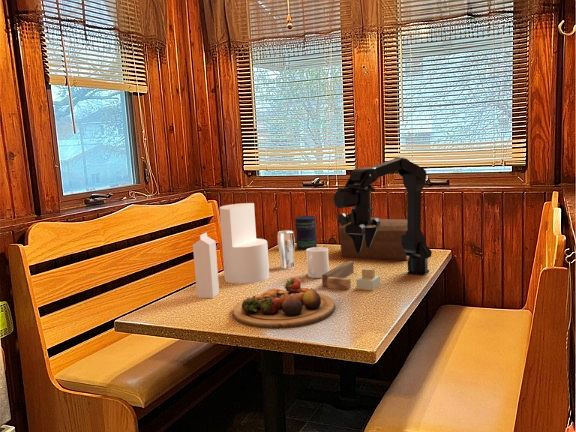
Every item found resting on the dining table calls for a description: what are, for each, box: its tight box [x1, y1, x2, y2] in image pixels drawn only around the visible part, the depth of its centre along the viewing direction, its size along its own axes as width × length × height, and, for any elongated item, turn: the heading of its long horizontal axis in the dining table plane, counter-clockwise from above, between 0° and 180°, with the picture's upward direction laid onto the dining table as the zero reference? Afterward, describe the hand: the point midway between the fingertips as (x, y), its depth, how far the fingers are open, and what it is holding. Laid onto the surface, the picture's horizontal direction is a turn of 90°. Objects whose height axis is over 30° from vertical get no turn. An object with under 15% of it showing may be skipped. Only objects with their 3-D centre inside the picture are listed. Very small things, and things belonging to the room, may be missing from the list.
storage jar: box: [294, 215, 318, 251], centre depth 266 cm, size 10×10×15 cm
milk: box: [192, 231, 220, 299], centre depth 196 cm, size 6×6×22 cm
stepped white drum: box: [219, 202, 270, 285], centre depth 217 cm, size 17×17×28 cm
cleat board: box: [321, 260, 354, 291], centre depth 206 cm, size 10×22×4 cm, turn 149°
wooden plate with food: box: [232, 277, 336, 330], centre depth 175 cm, size 32×32×8 cm
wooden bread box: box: [338, 218, 409, 261], centre depth 244 cm, size 18×30×16 cm, turn 63°
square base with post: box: [356, 267, 381, 291], centre depth 197 cm, size 6×7×6 cm
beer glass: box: [277, 229, 296, 270], centre depth 230 cm, size 7×7×15 cm
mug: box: [305, 246, 330, 279], centre depth 214 cm, size 12×8×10 cm
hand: (363, 249), depth 196 cm, fingers open, 9 cm apart
